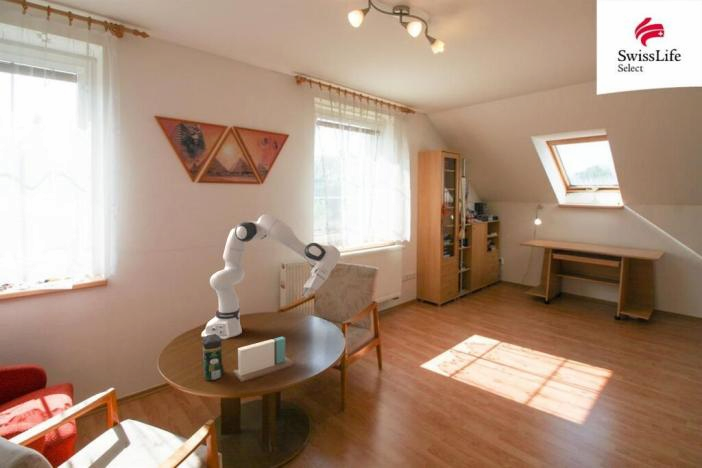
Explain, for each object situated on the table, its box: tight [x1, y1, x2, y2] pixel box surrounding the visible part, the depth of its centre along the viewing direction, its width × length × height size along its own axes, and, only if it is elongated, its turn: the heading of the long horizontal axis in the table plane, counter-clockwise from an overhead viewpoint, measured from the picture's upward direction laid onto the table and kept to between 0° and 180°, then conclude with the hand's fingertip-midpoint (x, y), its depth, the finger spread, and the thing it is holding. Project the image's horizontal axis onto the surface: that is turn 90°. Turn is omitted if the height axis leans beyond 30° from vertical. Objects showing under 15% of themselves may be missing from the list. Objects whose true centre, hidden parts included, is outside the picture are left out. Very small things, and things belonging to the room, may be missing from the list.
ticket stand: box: [233, 338, 295, 383], centre depth 164 cm, size 26×10×13 cm, turn 128°
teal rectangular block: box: [273, 336, 286, 364], centre depth 168 cm, size 5×3×12 cm, turn 127°
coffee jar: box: [202, 334, 223, 381], centre depth 156 cm, size 10×8×19 cm
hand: (303, 296), depth 173 cm, fingers open, 8 cm apart
